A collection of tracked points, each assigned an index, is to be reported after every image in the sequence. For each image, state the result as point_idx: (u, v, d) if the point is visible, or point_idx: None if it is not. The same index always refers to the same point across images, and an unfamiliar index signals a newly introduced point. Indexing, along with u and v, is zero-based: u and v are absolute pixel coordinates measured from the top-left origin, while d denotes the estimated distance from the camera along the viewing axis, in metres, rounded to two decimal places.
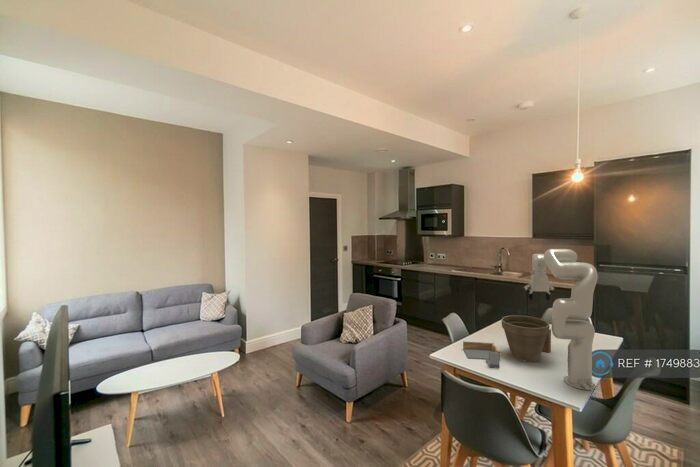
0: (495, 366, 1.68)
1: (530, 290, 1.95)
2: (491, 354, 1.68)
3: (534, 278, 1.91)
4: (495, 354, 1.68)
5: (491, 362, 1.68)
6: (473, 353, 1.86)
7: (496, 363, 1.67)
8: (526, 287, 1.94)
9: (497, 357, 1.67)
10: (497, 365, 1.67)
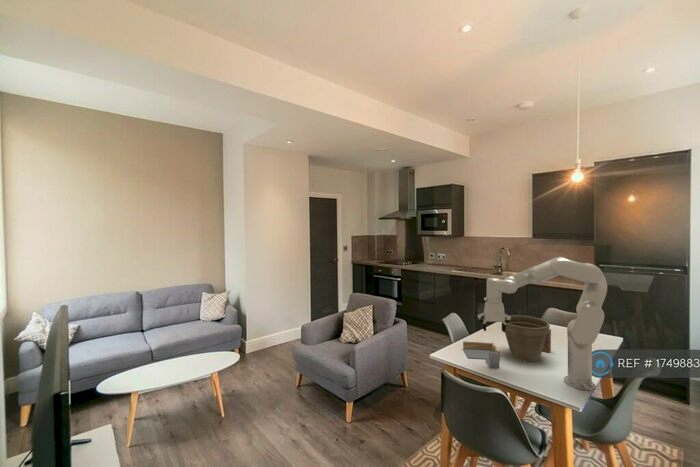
0: (495, 366, 1.68)
1: (484, 319, 1.70)
2: (491, 354, 1.68)
3: (488, 306, 1.66)
4: (495, 354, 1.68)
5: (491, 362, 1.68)
6: (473, 353, 1.86)
7: (496, 363, 1.67)
8: (479, 316, 1.69)
9: (497, 357, 1.67)
10: (497, 365, 1.67)
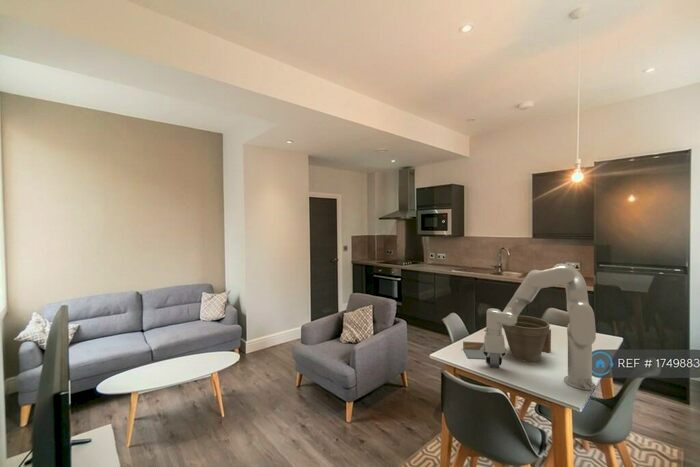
0: (495, 366, 1.68)
1: (487, 352, 1.70)
2: (491, 354, 1.68)
3: (488, 338, 1.67)
4: (495, 354, 1.68)
5: (491, 362, 1.68)
6: (473, 353, 1.86)
7: (496, 363, 1.67)
8: (482, 350, 1.69)
9: (497, 357, 1.67)
10: (497, 365, 1.67)
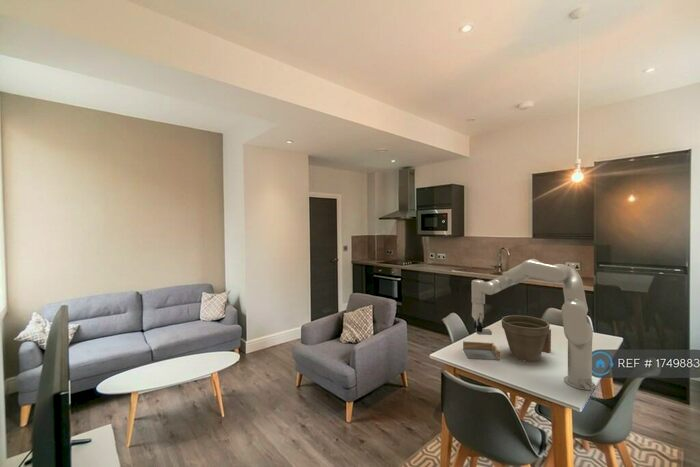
0: (476, 332, 1.84)
1: None
2: None
3: (472, 303, 1.88)
4: None
5: None
6: (473, 353, 1.86)
7: None
8: None
9: None
10: None
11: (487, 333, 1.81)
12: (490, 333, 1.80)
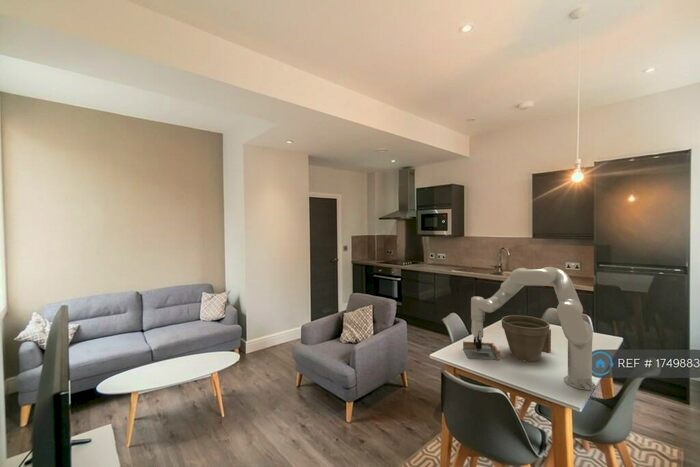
0: None
1: None
2: None
3: None
4: None
5: (475, 343, 1.86)
6: (473, 353, 1.86)
7: None
8: None
9: (476, 340, 1.83)
10: None
11: (486, 350, 1.81)
12: (489, 350, 1.81)
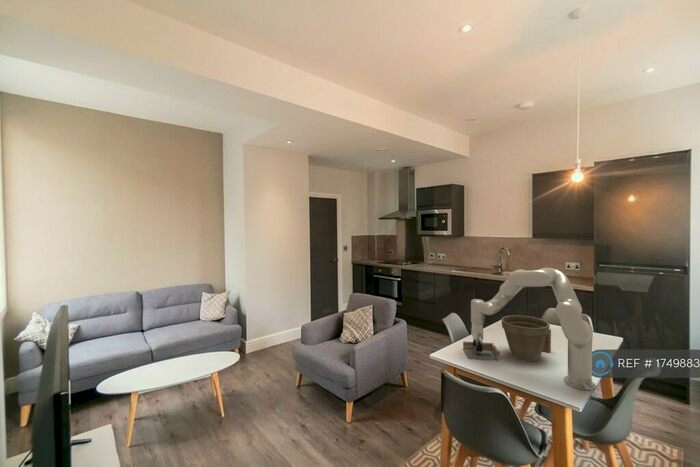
0: (476, 353, 1.85)
1: None
2: (475, 340, 1.86)
3: None
4: (476, 342, 1.84)
5: (475, 348, 1.86)
6: (473, 353, 1.86)
7: (476, 350, 1.84)
8: None
9: (476, 345, 1.83)
10: (477, 352, 1.83)
11: (487, 354, 1.81)
12: (490, 354, 1.81)
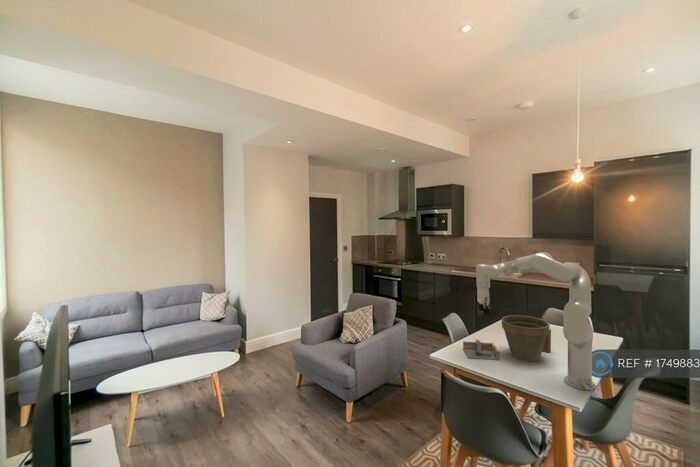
0: (476, 353, 1.85)
1: None
2: (475, 340, 1.86)
3: None
4: (476, 342, 1.84)
5: (475, 348, 1.86)
6: (473, 353, 1.86)
7: (476, 350, 1.84)
8: None
9: (476, 345, 1.83)
10: (477, 352, 1.83)
11: (487, 354, 1.81)
12: (490, 354, 1.81)
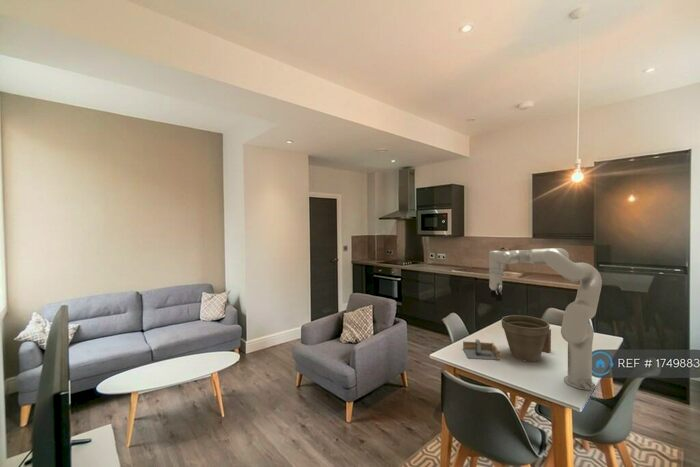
0: (476, 353, 1.85)
1: None
2: (475, 340, 1.86)
3: (490, 275, 1.88)
4: (476, 342, 1.84)
5: (475, 348, 1.86)
6: (473, 353, 1.86)
7: (476, 350, 1.84)
8: None
9: (476, 345, 1.83)
10: (477, 352, 1.83)
11: (487, 354, 1.81)
12: (490, 354, 1.81)
